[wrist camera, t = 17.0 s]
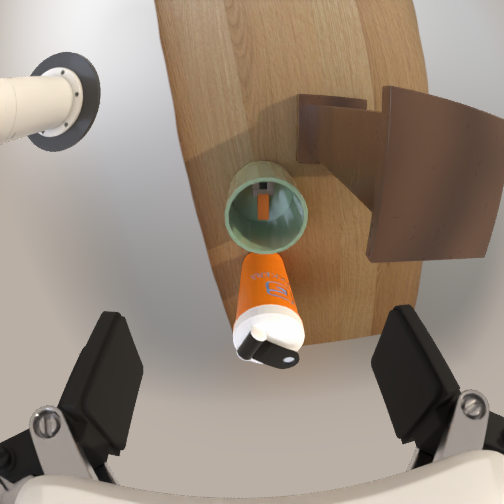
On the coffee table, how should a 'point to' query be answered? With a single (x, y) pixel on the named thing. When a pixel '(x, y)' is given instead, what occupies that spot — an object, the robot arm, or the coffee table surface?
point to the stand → (411, 169)
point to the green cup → (280, 210)
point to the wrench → (263, 198)
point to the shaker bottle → (267, 314)
